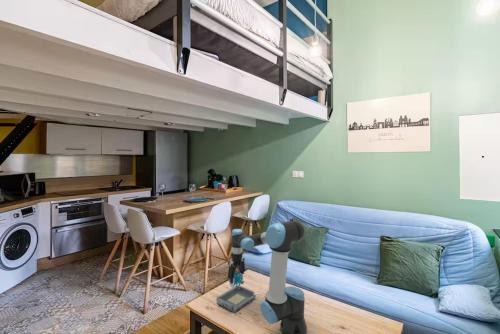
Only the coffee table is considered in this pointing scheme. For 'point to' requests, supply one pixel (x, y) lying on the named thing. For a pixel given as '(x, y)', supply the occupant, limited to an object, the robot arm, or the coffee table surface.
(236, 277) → the gear
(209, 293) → the coffee table surface
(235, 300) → the gray metal tray
